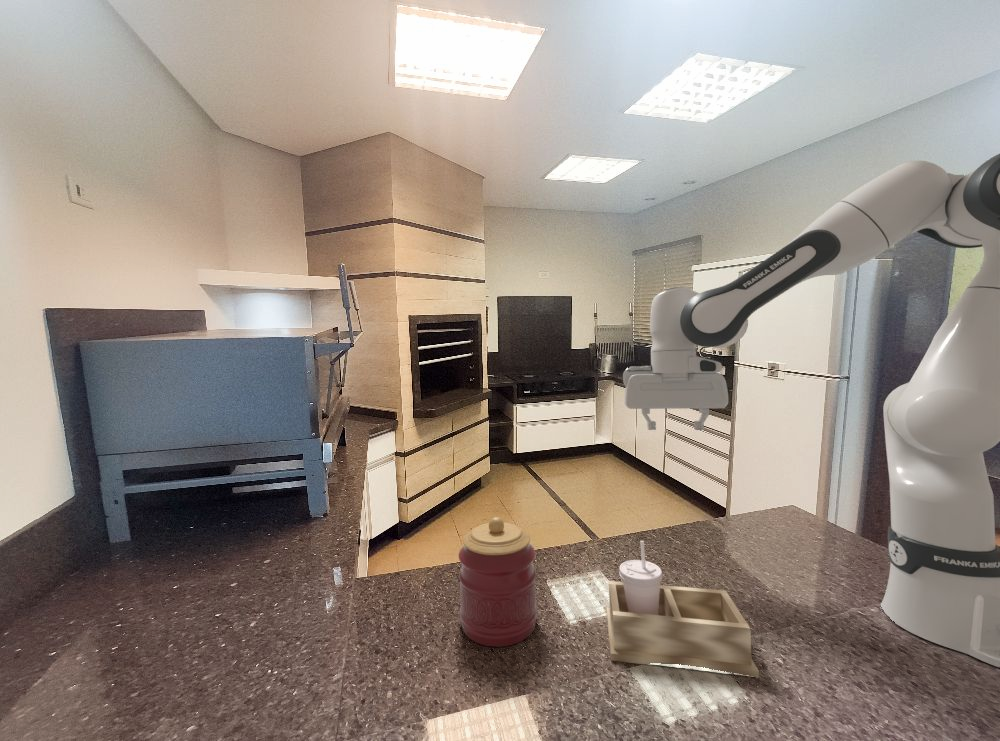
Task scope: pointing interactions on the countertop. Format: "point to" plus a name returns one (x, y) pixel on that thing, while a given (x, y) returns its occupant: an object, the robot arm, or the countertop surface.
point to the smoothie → (641, 584)
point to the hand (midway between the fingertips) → (675, 429)
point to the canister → (497, 584)
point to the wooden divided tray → (681, 630)
